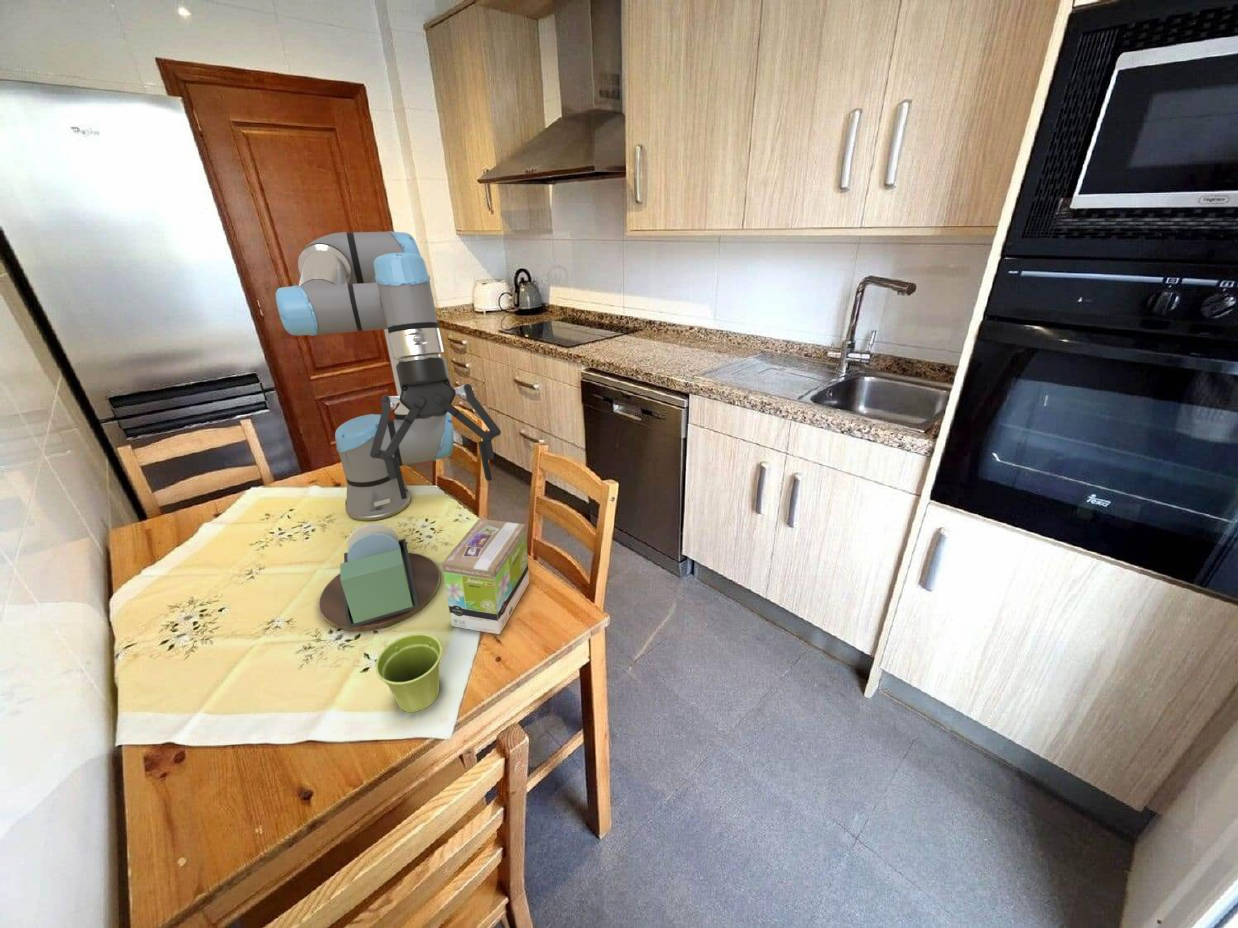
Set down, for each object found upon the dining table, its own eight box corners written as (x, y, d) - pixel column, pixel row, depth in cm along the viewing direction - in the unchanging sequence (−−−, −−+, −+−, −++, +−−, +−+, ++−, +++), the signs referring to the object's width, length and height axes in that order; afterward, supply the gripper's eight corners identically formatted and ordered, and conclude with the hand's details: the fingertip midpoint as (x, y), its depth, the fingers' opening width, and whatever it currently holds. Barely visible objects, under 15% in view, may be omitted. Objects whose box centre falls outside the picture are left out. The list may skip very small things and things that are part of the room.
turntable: (378, 548, 113) (377, 544, 113) (461, 568, 107) (460, 564, 107) (293, 614, 95) (291, 610, 94) (388, 644, 88) (387, 639, 88)
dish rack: (347, 565, 106) (334, 522, 101) (408, 550, 111) (398, 508, 106) (348, 628, 90) (333, 581, 85) (419, 608, 95) (408, 562, 90)
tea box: (502, 636, 90) (493, 571, 84) (450, 627, 92) (438, 563, 85) (531, 582, 103) (525, 522, 97) (486, 575, 105) (477, 516, 98)
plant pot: (462, 683, 81) (455, 644, 77) (420, 732, 74) (409, 692, 70) (418, 664, 85) (409, 625, 81) (373, 709, 77) (360, 669, 73)
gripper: (328, 369, 71) (364, 510, 76) (503, 348, 80) (525, 475, 85) (335, 370, 78) (367, 500, 82) (495, 351, 87) (516, 469, 92)
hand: (447, 488), depth 84 cm, fingers open, 13 cm apart
